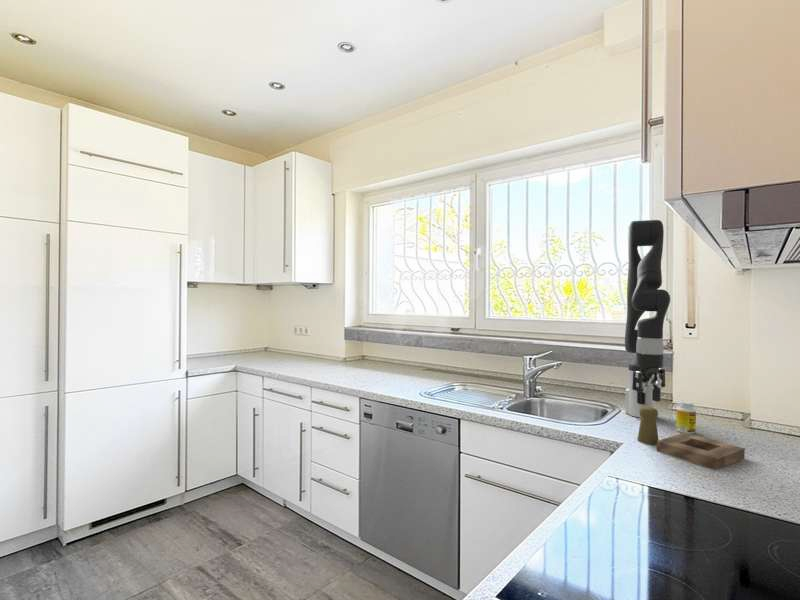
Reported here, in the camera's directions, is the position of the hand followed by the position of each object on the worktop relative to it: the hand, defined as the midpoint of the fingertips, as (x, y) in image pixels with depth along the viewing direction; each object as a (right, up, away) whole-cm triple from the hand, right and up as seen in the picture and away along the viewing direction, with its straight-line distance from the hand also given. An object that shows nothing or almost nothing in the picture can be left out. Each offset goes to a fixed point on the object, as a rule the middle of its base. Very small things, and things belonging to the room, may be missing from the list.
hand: (648, 402), depth 137 cm
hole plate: (+9, -13, -11) cm, 19 cm away
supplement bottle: (+19, -13, +10) cm, 25 cm away
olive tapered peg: (0, -13, 0) cm, 13 cm away
